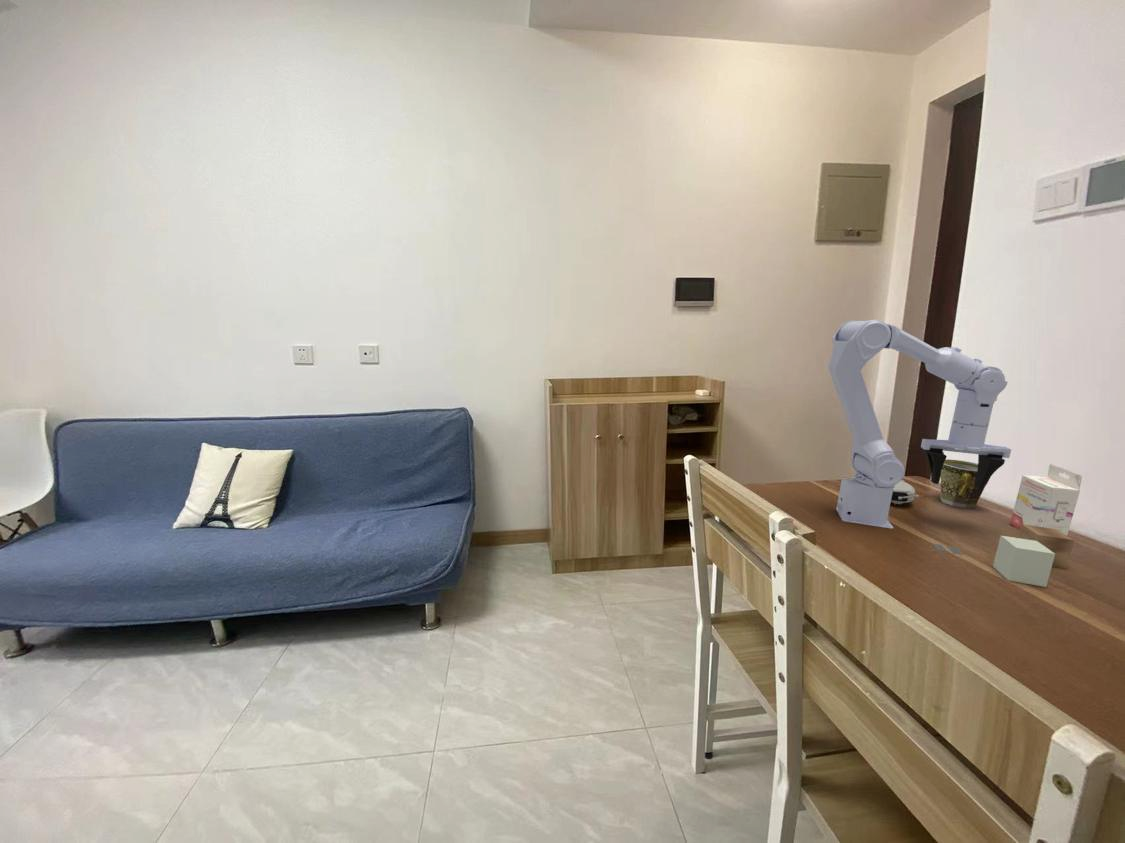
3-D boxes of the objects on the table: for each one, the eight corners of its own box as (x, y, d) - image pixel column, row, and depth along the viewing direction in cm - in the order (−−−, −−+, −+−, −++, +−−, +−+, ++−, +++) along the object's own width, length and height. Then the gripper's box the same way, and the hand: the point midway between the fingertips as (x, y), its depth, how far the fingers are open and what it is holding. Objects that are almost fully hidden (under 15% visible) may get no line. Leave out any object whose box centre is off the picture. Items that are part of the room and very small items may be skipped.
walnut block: (1029, 565, 84) (1037, 534, 83) (1014, 552, 89) (1022, 524, 88) (1065, 570, 83) (1073, 540, 81) (1048, 558, 87) (1056, 529, 86)
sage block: (1007, 580, 78) (1016, 547, 76) (992, 566, 82) (1000, 535, 81) (1046, 587, 76) (1055, 553, 75) (1028, 572, 81) (1036, 540, 79)
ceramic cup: (930, 493, 121) (938, 456, 119) (980, 502, 116) (989, 464, 113) (933, 508, 111) (942, 468, 109) (988, 519, 105) (999, 477, 103)
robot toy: (846, 504, 114) (920, 511, 108) (847, 487, 113) (922, 493, 107) (838, 489, 125) (905, 494, 119) (839, 473, 124) (907, 477, 118)
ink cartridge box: (1007, 524, 103) (1023, 460, 100) (1033, 526, 102) (1050, 463, 99) (1038, 541, 95) (1056, 472, 92) (1066, 544, 94) (1086, 475, 91)
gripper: (935, 423, 94) (922, 485, 97) (1025, 431, 89) (1009, 496, 92) (922, 417, 101) (910, 476, 104) (1006, 424, 96) (991, 486, 99)
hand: (956, 485), depth 98 cm, fingers open, 7 cm apart
